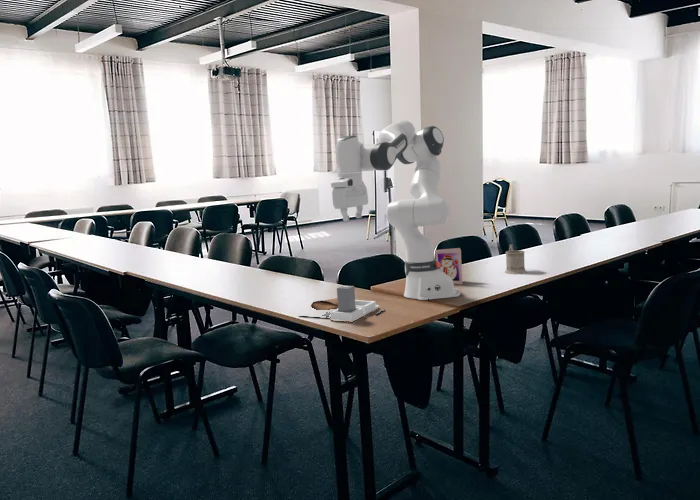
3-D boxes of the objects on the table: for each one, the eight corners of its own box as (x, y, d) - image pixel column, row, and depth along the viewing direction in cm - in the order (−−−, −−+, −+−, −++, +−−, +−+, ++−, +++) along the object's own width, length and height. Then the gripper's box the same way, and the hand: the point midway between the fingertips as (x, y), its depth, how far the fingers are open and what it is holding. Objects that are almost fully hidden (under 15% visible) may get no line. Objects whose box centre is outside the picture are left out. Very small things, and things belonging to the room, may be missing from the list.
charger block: (345, 312, 204) (343, 284, 202) (356, 313, 201) (354, 285, 200) (338, 315, 200) (336, 287, 198) (349, 316, 198) (347, 288, 196)
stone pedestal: (529, 273, 260) (528, 247, 258) (507, 274, 260) (506, 248, 258) (520, 268, 274) (519, 243, 272) (500, 269, 274) (499, 244, 273)
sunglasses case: (319, 314, 209) (315, 298, 211) (314, 321, 215) (309, 304, 217) (362, 306, 217) (357, 290, 219) (355, 312, 223) (350, 297, 225)
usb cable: (383, 310, 209) (383, 308, 209) (385, 310, 209) (385, 308, 209) (374, 315, 202) (374, 313, 202) (376, 315, 202) (376, 313, 202)
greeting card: (436, 283, 250) (434, 250, 248) (441, 280, 257) (439, 247, 255) (461, 284, 245) (460, 250, 243) (466, 281, 252) (464, 247, 250)
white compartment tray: (358, 306, 217) (357, 298, 217) (379, 308, 213) (378, 299, 212) (330, 321, 199) (329, 312, 199) (352, 322, 195) (352, 313, 194)
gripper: (356, 180, 215) (358, 216, 217) (328, 183, 198) (331, 222, 199) (371, 179, 212) (373, 216, 214) (343, 182, 194) (346, 222, 196)
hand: (352, 219), depth 207 cm, fingers open, 8 cm apart
